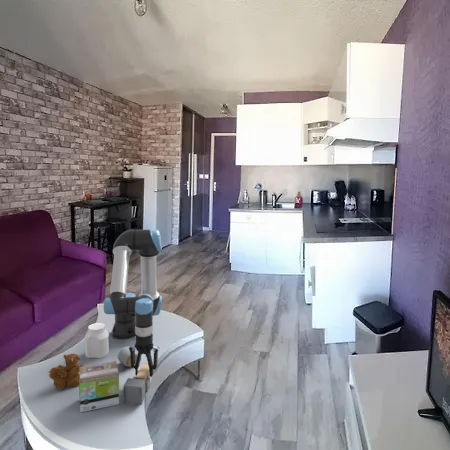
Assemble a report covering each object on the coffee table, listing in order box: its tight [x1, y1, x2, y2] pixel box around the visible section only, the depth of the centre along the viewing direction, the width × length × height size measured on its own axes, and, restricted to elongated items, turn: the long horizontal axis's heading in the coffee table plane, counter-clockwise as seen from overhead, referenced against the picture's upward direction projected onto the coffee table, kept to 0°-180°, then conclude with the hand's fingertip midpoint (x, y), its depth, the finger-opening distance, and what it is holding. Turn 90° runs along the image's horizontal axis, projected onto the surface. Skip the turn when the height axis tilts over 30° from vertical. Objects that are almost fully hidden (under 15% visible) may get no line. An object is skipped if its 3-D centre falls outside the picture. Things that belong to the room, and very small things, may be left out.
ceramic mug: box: [117, 346, 142, 368], centre depth 174 cm, size 11×8×8 cm
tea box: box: [78, 360, 120, 413], centre depth 144 cm, size 15×10×15 cm
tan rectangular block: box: [135, 362, 149, 382], centre depth 158 cm, size 12×4×6 cm, turn 174°
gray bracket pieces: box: [123, 375, 151, 405], centre depth 150 cm, size 12×8×8 cm, turn 175°
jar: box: [84, 322, 110, 359], centre depth 181 cm, size 12×10×15 cm
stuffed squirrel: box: [48, 353, 85, 391], centre depth 155 cm, size 10×14×13 cm
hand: (144, 382), depth 159 cm, fingers closed on tan rectangular block, 4 cm apart
